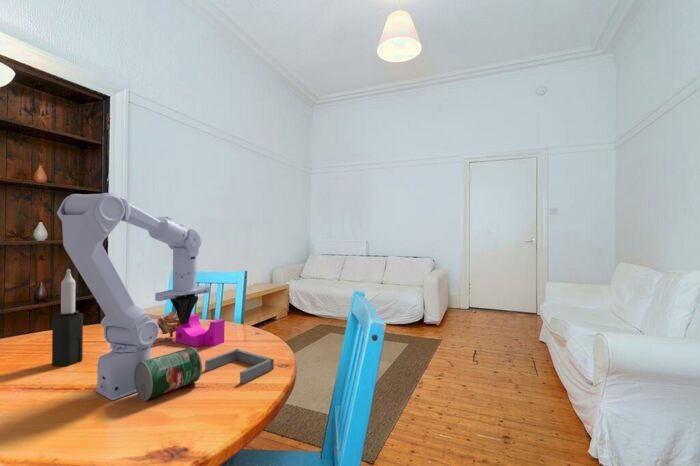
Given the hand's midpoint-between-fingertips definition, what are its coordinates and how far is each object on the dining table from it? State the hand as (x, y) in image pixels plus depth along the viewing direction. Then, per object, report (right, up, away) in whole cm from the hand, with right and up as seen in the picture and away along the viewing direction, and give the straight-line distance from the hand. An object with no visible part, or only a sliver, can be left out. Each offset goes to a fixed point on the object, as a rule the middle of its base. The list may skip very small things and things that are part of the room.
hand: (184, 323), depth 90 cm
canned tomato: (+8, -7, -11) cm, 15 cm away
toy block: (-3, -11, +16) cm, 20 cm away
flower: (-14, -11, +20) cm, 27 cm away
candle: (-30, -10, -2) cm, 32 cm away
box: (+17, -11, -5) cm, 20 cm away
